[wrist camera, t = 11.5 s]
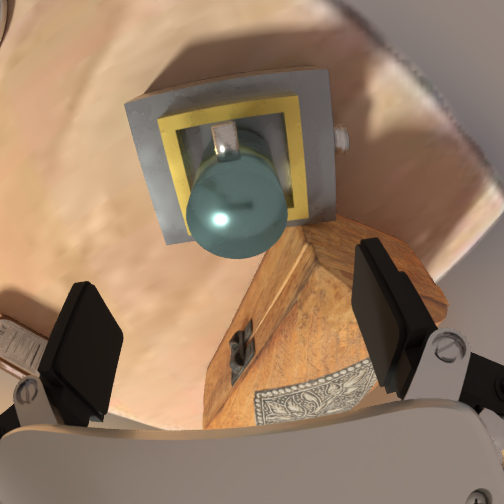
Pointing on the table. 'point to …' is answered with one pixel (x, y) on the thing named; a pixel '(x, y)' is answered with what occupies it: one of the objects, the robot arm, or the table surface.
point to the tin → (20, 348)
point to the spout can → (236, 195)
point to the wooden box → (303, 330)
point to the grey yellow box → (246, 118)
